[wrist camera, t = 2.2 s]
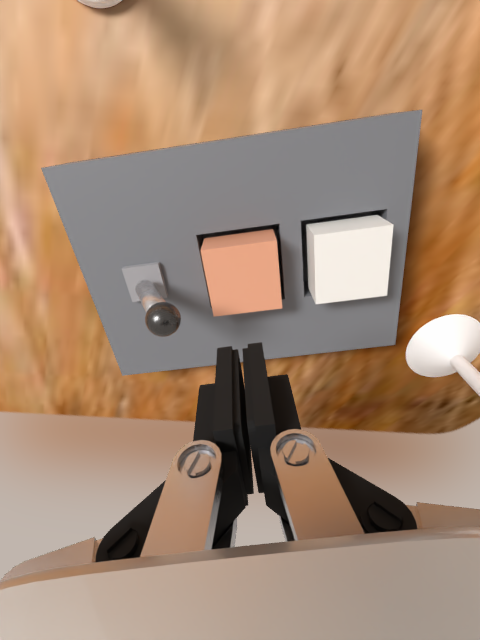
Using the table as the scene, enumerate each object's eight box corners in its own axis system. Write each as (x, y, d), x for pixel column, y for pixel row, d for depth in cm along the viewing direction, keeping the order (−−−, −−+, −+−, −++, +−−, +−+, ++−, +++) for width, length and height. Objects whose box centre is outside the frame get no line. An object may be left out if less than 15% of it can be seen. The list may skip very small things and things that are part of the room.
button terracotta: (272, 228, 21) (276, 240, 19) (278, 291, 23) (282, 308, 21) (204, 238, 21) (200, 250, 19) (215, 299, 24) (213, 316, 21)
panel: (394, 112, 21) (426, 109, 17) (378, 321, 28) (397, 347, 25) (68, 163, 22) (37, 168, 18) (134, 349, 29) (121, 378, 26)
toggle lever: (153, 269, 21) (180, 304, 16) (160, 294, 22) (188, 335, 17) (125, 277, 21) (144, 316, 16) (133, 302, 22) (154, 347, 17)
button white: (377, 214, 21) (393, 224, 19) (372, 280, 23) (387, 295, 21) (306, 224, 21) (314, 235, 19) (308, 287, 23) (315, 304, 21)
